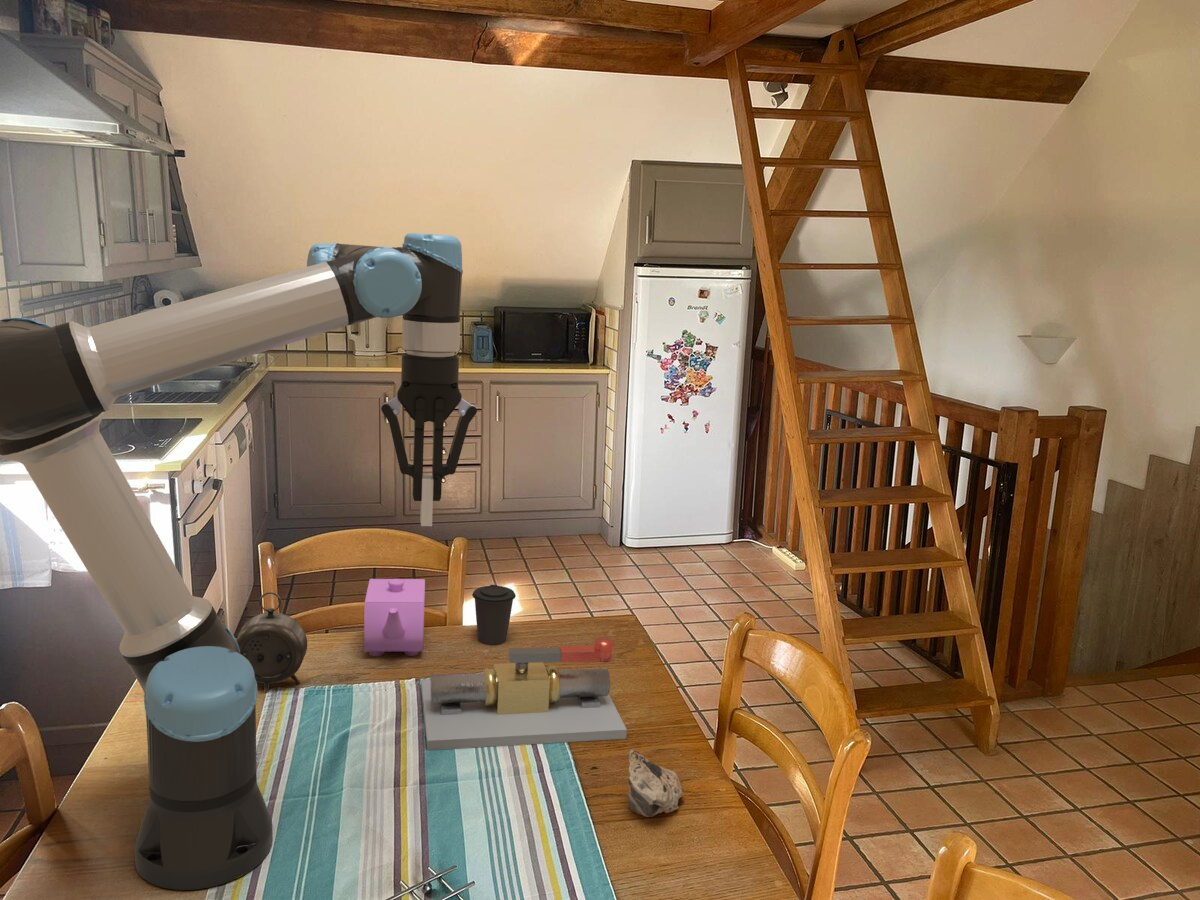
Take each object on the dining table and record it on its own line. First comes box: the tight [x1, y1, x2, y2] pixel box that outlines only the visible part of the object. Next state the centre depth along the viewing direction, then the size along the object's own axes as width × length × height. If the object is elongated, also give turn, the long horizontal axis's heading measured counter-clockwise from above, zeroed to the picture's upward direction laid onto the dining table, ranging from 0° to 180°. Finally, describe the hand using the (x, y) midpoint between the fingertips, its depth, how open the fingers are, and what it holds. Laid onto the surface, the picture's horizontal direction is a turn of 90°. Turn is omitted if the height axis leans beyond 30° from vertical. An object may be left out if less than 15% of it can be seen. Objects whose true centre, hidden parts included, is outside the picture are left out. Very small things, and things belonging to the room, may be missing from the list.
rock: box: [626, 748, 685, 818], centre depth 129 cm, size 9×7×10 cm
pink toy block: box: [363, 578, 426, 657], centre depth 171 cm, size 20×10×12 cm, turn 9°
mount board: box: [420, 678, 628, 751], centre depth 152 cm, size 20×30×2 cm, turn 103°
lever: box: [508, 636, 615, 673], centre depth 151 cm, size 16×3×5 cm, turn 100°
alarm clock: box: [235, 591, 308, 693], centre depth 154 cm, size 11×5×16 cm, turn 96°
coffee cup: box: [471, 584, 517, 646], centre depth 178 cm, size 8×8×10 cm
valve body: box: [430, 662, 611, 715], centre depth 151 cm, size 6×28×6 cm, turn 103°
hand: (426, 523), depth 132 cm, fingers closed
